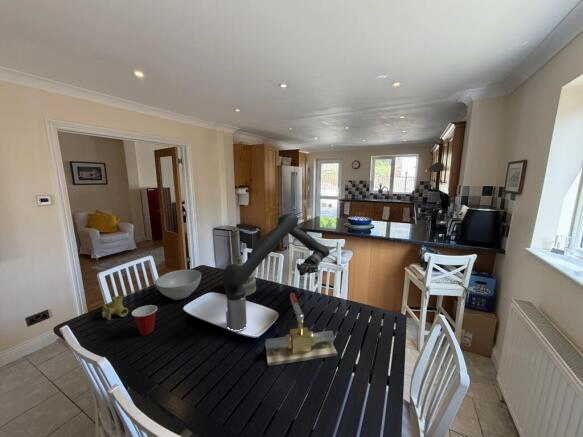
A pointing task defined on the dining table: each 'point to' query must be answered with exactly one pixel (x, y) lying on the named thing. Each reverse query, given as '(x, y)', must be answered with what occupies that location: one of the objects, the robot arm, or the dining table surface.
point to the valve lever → (296, 308)
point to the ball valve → (114, 308)
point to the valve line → (299, 340)
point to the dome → (248, 281)
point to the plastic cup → (145, 318)
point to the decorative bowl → (178, 283)
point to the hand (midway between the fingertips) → (301, 273)
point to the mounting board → (287, 356)
